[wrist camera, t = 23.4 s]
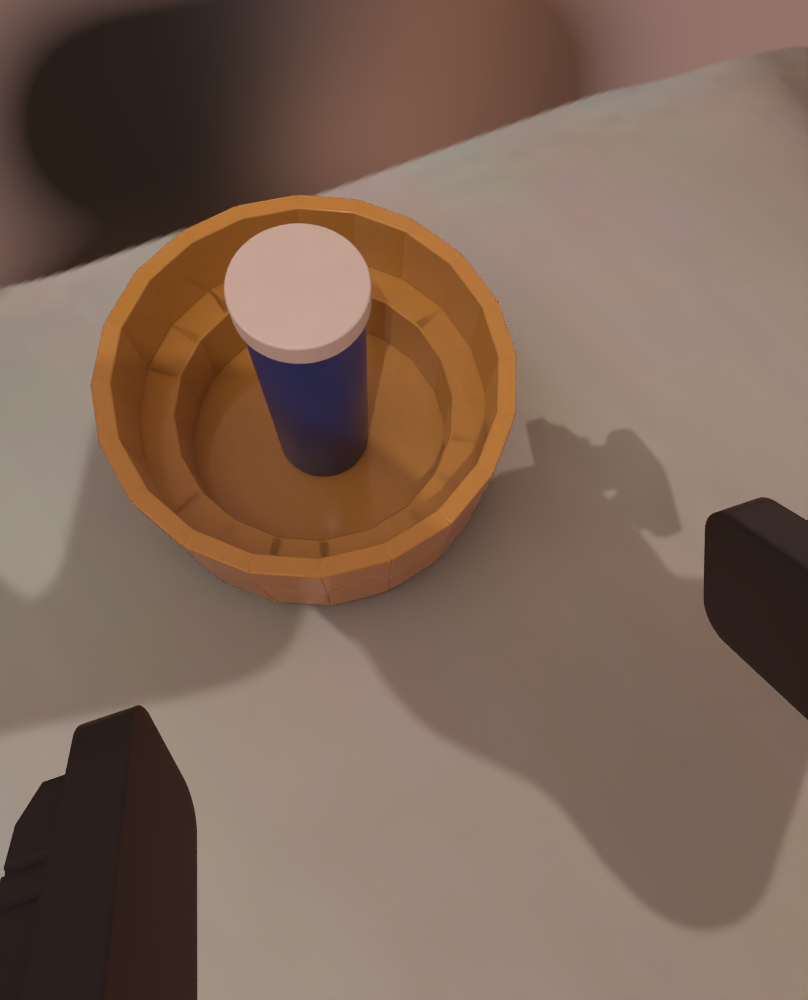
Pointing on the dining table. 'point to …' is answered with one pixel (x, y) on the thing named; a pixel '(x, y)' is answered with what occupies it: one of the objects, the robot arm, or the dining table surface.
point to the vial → (306, 339)
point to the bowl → (250, 429)
